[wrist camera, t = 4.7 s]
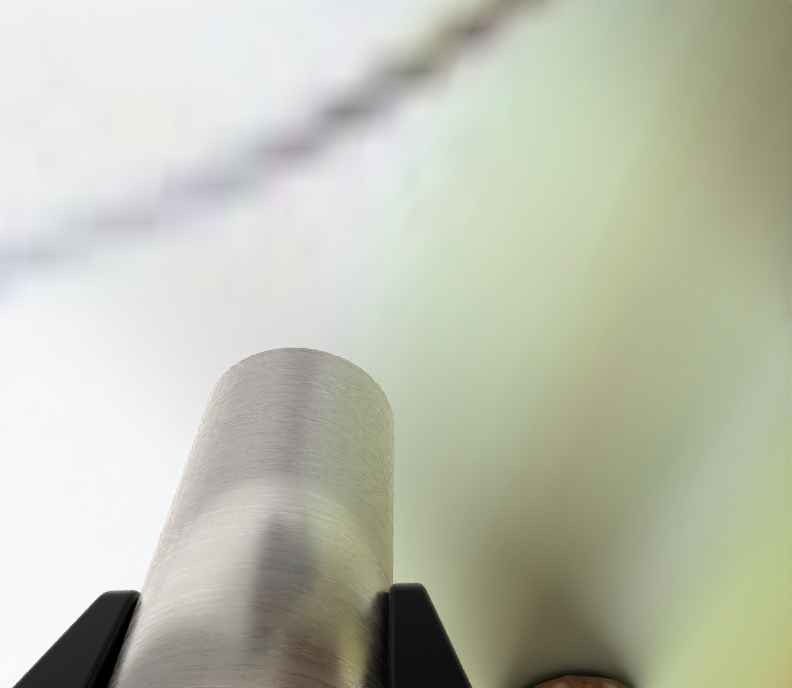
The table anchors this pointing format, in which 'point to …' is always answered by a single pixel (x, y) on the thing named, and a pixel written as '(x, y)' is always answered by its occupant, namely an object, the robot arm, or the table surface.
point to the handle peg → (274, 537)
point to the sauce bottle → (581, 683)
